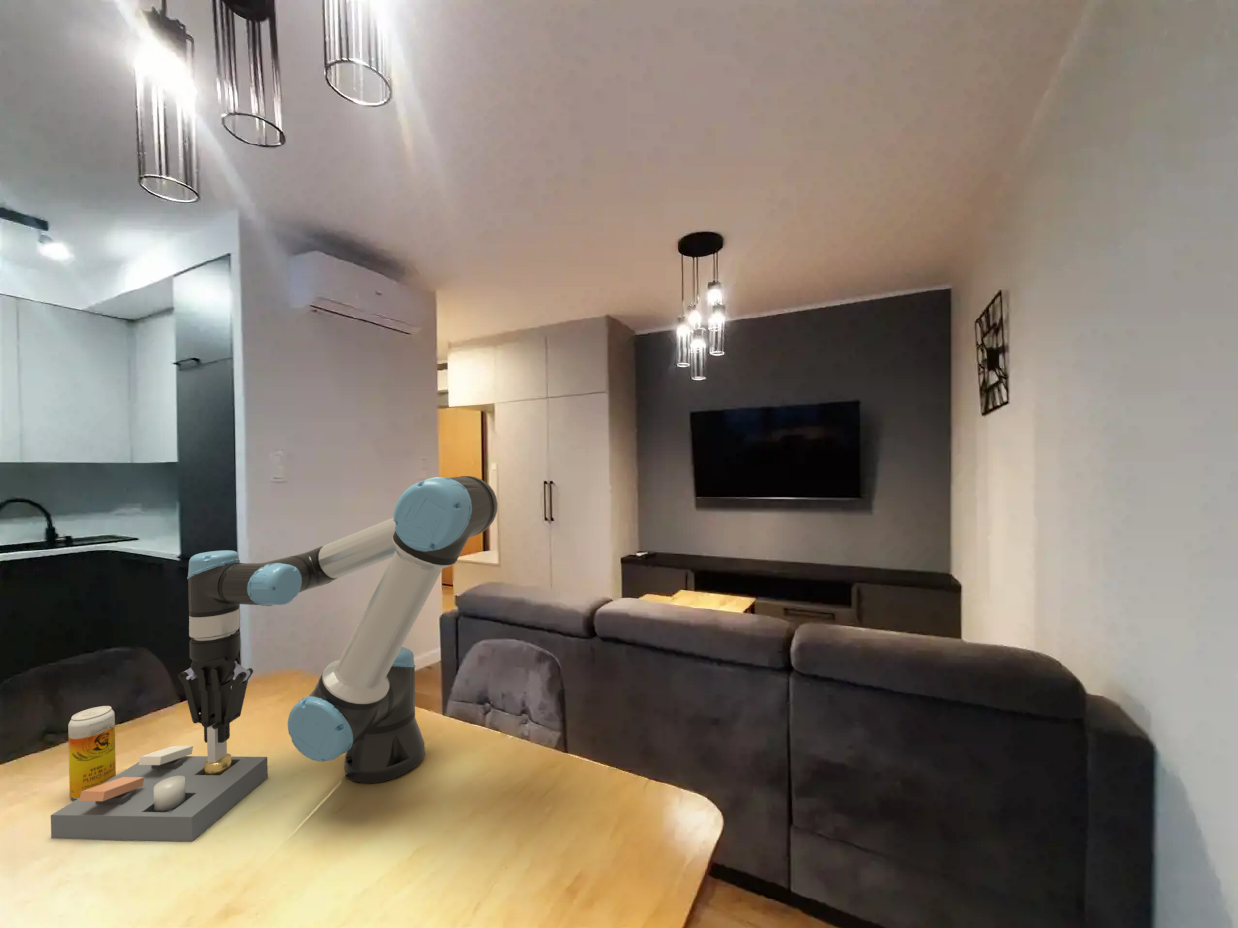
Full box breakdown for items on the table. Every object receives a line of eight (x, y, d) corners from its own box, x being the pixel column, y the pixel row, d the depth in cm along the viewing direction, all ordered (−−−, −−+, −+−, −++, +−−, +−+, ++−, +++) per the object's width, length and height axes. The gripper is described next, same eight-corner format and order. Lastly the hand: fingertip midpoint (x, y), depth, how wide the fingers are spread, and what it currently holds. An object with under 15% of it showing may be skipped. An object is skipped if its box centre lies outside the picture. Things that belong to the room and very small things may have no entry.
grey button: (191, 795, 89) (191, 775, 89) (170, 811, 85) (170, 790, 85) (169, 795, 90) (168, 775, 90) (147, 811, 86) (147, 790, 86)
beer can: (86, 804, 93) (84, 721, 93) (60, 800, 95) (59, 719, 94) (124, 783, 99) (123, 706, 99) (100, 780, 100) (98, 703, 100)
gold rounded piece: (236, 771, 99) (236, 753, 99) (219, 784, 95) (219, 765, 95) (216, 771, 100) (216, 753, 100) (199, 784, 96) (198, 765, 96)
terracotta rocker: (142, 785, 91) (144, 777, 91) (102, 801, 84) (104, 791, 85) (120, 785, 91) (122, 776, 92) (79, 800, 84) (81, 791, 85)
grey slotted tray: (267, 776, 101) (267, 751, 101) (192, 841, 84) (191, 810, 84) (149, 775, 102) (148, 750, 102) (51, 839, 85) (50, 808, 85)
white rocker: (191, 753, 101) (193, 745, 101) (159, 764, 94) (161, 756, 95) (172, 753, 101) (173, 745, 101) (138, 764, 94) (140, 756, 95)
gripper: (263, 627, 101) (265, 747, 101) (198, 627, 101) (200, 746, 102) (233, 640, 93) (235, 770, 93) (163, 640, 94) (166, 769, 94)
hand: (217, 758), depth 97 cm, fingers closed, pressing on gold rounded piece
